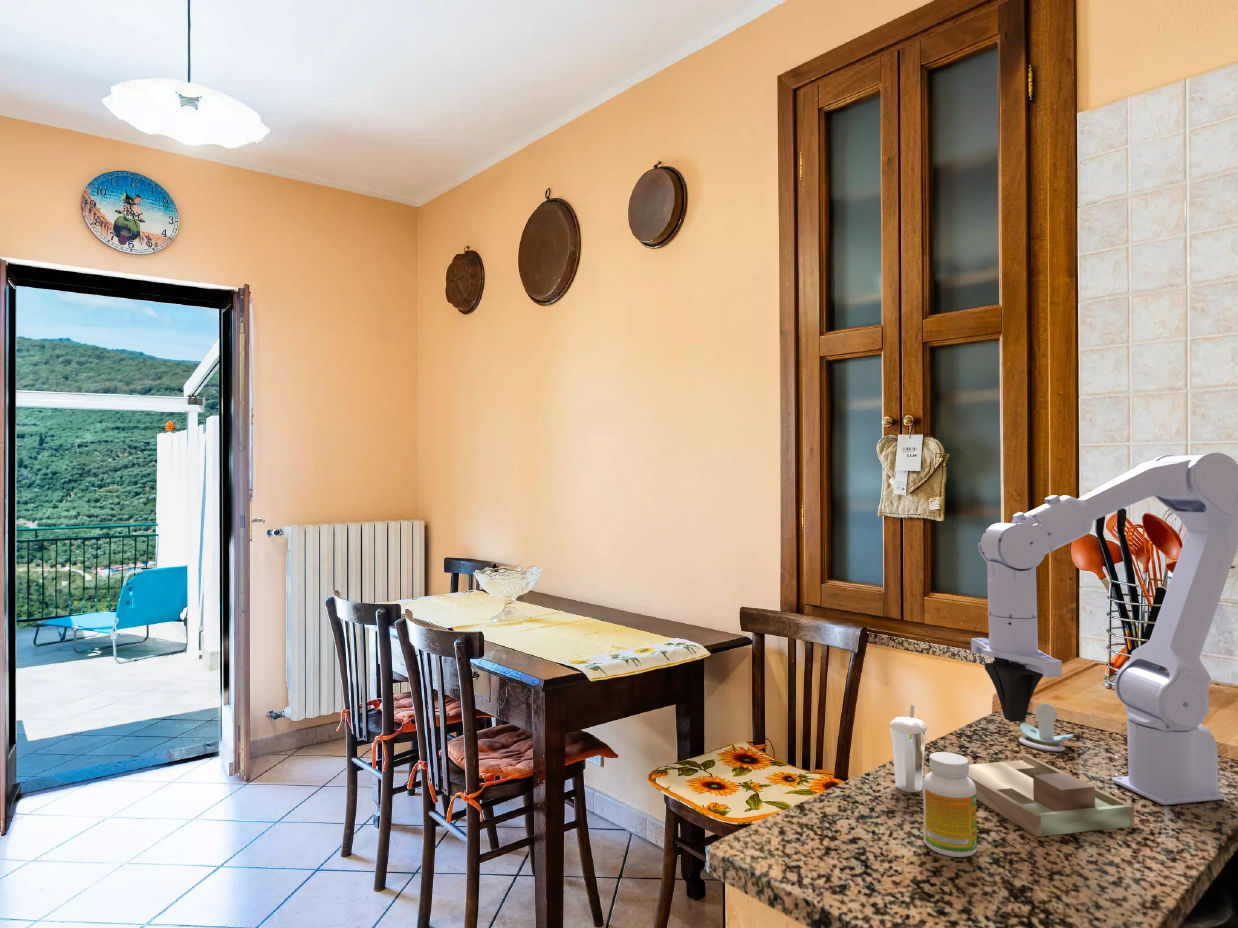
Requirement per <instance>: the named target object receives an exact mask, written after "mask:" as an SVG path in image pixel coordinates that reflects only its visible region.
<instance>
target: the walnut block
mask: <svg viewBox="0 0 1238 928" xmlns="http://www.w3.org/2000/svg"><path fill="white" fill-rule="evenodd" d="M1095 788H1096V787H1095V786H1094V785H1092V784H1090V783H1088V782H1085V781H1083V780H1081V779H1080V778H1078V777H1076V776H1073V775H1071V774H1070V773H1067V772H1064V773H1054V774H1043V775H1033V794H1034V801H1036V802H1038V803H1039V804H1041V805H1043V806H1045V807H1047V808H1048V809H1050V810H1052V811H1054V812H1055V811H1065V810H1075V809H1085V808H1095Z"/></svg>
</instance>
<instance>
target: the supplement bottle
mask: <svg viewBox="0 0 1238 928" xmlns="http://www.w3.org/2000/svg"><path fill="white" fill-rule="evenodd" d="M928 765H929V769H930V772H928V773H927V774H925V775H924V776H923V786H922V791H923V793H922V796H923V840H924V843H925V845H926V846H927V847H928V848H929V849H930V850H932V851H934V852H936V853H938V854H941V855H943V856H948V857H954V858H965V857H966V858H967V857H970V856H973V855H974V854H976V852H977V850H978V833H977V832H978V827H977V826H978V825H977V823H978V822H977V821H978V820H977V818H978V817H977V799H976V786H975V784H974V782H973V781H972V780H971V779H970V778H969V777H967V775H968V774H969V765H970V763H969V759H968V758H967V757H965V756H963V755H960V754H958V753H955V752H947V751H937V752H933V753H930V754H929V763H928Z"/></svg>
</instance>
